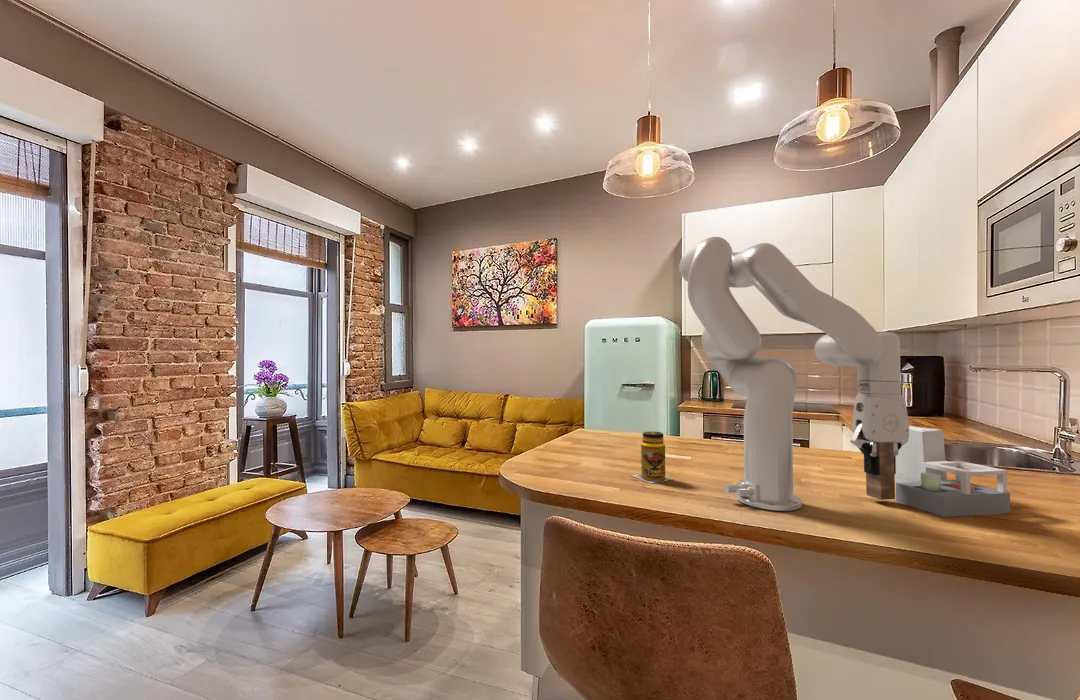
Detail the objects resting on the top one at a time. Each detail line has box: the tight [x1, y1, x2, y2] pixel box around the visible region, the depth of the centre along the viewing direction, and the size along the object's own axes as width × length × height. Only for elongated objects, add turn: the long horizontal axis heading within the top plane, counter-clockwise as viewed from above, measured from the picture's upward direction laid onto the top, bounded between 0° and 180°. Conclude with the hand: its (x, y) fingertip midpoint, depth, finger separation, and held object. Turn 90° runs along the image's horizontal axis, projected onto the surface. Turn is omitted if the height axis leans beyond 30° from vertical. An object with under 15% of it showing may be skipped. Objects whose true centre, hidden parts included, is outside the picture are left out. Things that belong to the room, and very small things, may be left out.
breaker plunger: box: [951, 483, 974, 491], centre depth 95 cm, size 4×4×3 cm
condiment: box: [630, 431, 673, 484], centre depth 118 cm, size 7×8×12 cm
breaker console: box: [895, 460, 1011, 518], centre depth 95 cm, size 16×10×8 cm, turn 99°
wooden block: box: [865, 442, 896, 501], centre depth 98 cm, size 4×4×14 cm
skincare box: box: [894, 425, 948, 487], centre depth 106 cm, size 8×6×15 cm
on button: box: [921, 472, 941, 492], centre depth 94 cm, size 3×3×4 cm
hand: (879, 472), depth 98 cm, fingers closed on wooden block, 3 cm apart
